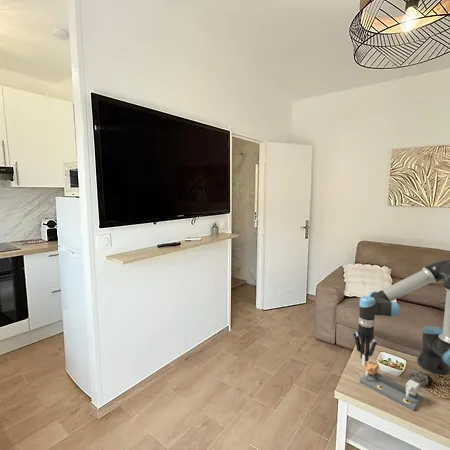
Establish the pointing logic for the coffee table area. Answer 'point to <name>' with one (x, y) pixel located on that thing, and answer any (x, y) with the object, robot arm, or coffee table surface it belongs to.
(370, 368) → the sliding leg
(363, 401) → the coffee table surface
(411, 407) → the plate
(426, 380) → the grey rock
